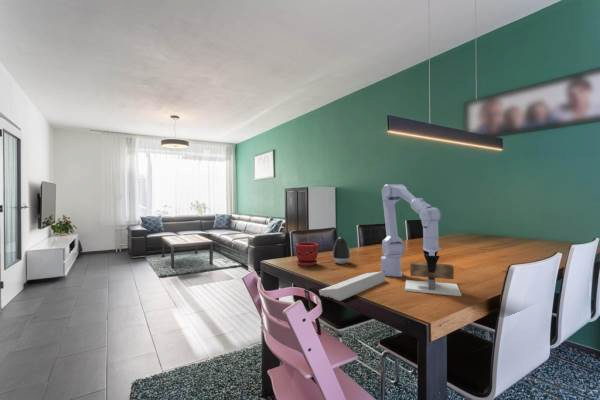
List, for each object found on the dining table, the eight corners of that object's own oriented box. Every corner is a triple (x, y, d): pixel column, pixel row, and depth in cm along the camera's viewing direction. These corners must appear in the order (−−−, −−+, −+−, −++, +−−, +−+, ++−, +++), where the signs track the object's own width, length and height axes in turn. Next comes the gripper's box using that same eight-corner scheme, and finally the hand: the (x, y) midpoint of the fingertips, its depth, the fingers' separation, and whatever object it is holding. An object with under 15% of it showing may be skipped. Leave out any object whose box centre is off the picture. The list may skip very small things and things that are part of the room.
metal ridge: (428, 289, 117) (428, 279, 117) (427, 282, 126) (427, 273, 126) (435, 290, 116) (435, 279, 116) (433, 283, 125) (433, 273, 125)
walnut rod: (410, 276, 122) (410, 263, 122) (410, 273, 125) (410, 262, 125) (453, 279, 116) (453, 266, 116) (452, 277, 120) (452, 264, 120)
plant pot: (319, 266, 163) (319, 245, 163) (295, 267, 163) (295, 245, 163) (317, 261, 176) (317, 241, 176) (295, 262, 176) (295, 242, 176)
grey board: (405, 290, 119) (405, 288, 119) (405, 282, 131) (405, 279, 131) (461, 296, 111) (461, 293, 111) (456, 286, 123) (456, 284, 123)
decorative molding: (321, 302, 115) (341, 301, 108) (318, 290, 116) (338, 288, 109) (367, 283, 139) (386, 281, 133) (364, 273, 140) (383, 271, 133)
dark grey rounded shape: (334, 265, 166) (333, 238, 166) (331, 261, 176) (331, 235, 176) (352, 264, 166) (351, 237, 166) (348, 260, 177) (347, 235, 177)
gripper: (443, 239, 113) (443, 275, 113) (439, 235, 126) (440, 266, 126) (423, 239, 115) (423, 273, 115) (422, 234, 129) (422, 265, 129)
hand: (431, 270), depth 121 cm, fingers open, 7 cm apart
